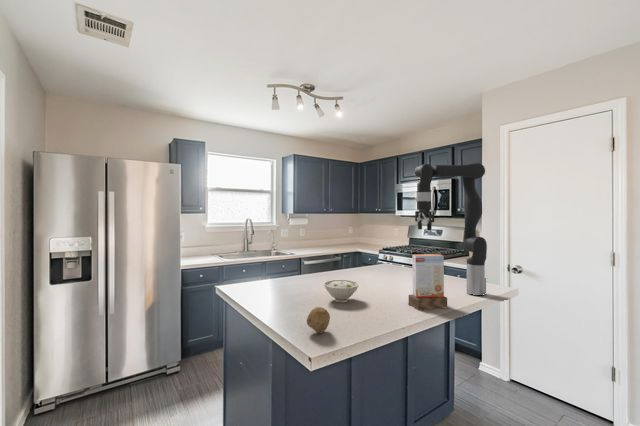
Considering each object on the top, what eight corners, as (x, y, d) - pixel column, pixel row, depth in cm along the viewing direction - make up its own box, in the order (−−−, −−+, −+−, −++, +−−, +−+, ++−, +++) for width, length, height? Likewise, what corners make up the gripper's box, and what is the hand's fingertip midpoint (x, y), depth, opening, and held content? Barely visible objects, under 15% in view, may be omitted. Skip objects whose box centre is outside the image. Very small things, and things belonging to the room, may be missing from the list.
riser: (436, 302, 156) (436, 292, 156) (447, 307, 147) (447, 297, 147) (408, 304, 152) (408, 294, 152) (418, 310, 143) (418, 299, 143)
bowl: (358, 295, 168) (358, 278, 168) (359, 306, 149) (359, 286, 149) (324, 294, 170) (324, 277, 170) (321, 305, 151) (321, 285, 151)
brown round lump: (304, 336, 112) (304, 310, 112) (309, 327, 121) (309, 303, 121) (328, 338, 111) (328, 311, 111) (331, 329, 120) (331, 304, 120)
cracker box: (439, 294, 152) (439, 253, 152) (444, 298, 146) (444, 255, 146) (412, 294, 152) (412, 253, 152) (415, 298, 146) (415, 255, 146)
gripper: (410, 201, 171) (411, 229, 171) (426, 200, 157) (426, 230, 157) (422, 201, 173) (422, 228, 173) (438, 200, 159) (438, 230, 159)
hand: (424, 229), depth 165 cm, fingers open, 8 cm apart
